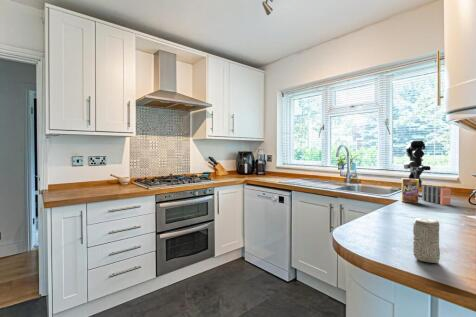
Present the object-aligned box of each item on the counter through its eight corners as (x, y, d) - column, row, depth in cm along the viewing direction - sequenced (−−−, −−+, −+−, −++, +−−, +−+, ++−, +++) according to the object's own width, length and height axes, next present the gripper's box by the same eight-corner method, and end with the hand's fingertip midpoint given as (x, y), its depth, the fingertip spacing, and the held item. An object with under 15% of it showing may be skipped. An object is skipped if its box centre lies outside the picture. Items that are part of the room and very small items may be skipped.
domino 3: (430, 202, 161) (431, 186, 161) (438, 202, 161) (438, 186, 161) (432, 202, 160) (433, 187, 159) (440, 202, 160) (440, 187, 159)
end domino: (440, 204, 154) (440, 188, 153) (448, 204, 154) (448, 188, 153) (442, 205, 152) (442, 188, 152) (450, 205, 152) (450, 188, 152)
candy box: (401, 202, 161) (402, 178, 161) (401, 200, 165) (401, 178, 165) (418, 203, 157) (418, 179, 157) (417, 202, 161) (417, 178, 160)
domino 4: (435, 203, 157) (435, 187, 157) (443, 203, 157) (443, 187, 157) (437, 203, 156) (437, 188, 156) (445, 203, 156) (445, 188, 156)
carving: (438, 258, 74) (439, 218, 73) (441, 268, 67) (442, 224, 67) (412, 254, 77) (413, 215, 77) (412, 262, 71) (413, 221, 71)
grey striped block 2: (426, 201, 165) (426, 186, 165) (433, 201, 165) (434, 186, 165) (428, 201, 163) (428, 186, 163) (435, 201, 163) (436, 186, 163)
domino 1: (422, 199, 169) (422, 185, 169) (429, 200, 169) (429, 185, 169) (423, 200, 167) (424, 185, 167) (431, 200, 167) (431, 185, 167)
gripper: (397, 157, 186) (396, 178, 187) (414, 158, 168) (414, 181, 168) (411, 157, 186) (411, 178, 187) (431, 158, 168) (430, 181, 168)
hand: (416, 179), depth 177 cm, fingers closed
